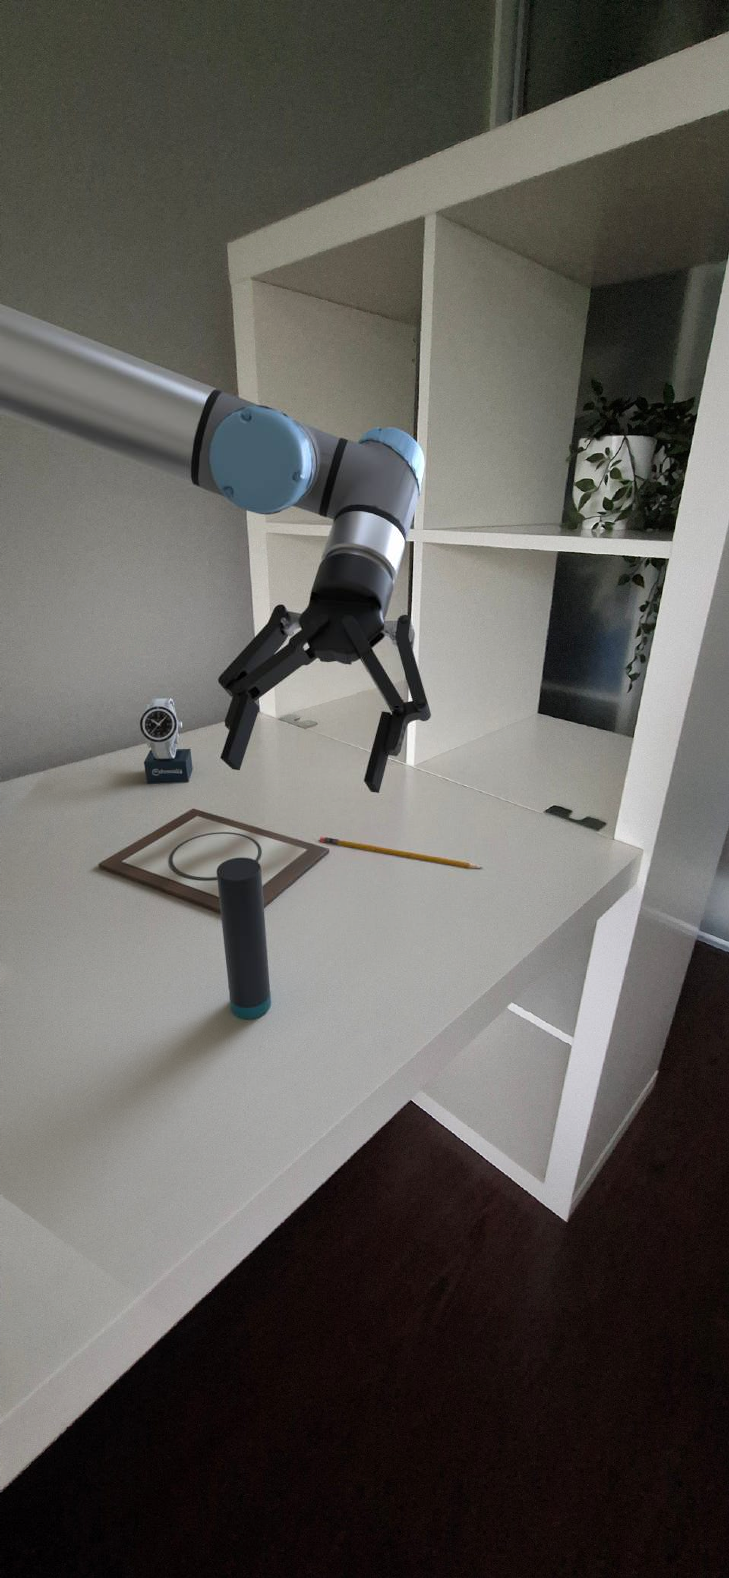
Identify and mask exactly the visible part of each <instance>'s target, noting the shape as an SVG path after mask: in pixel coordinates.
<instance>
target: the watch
mask: <svg viewBox="0 0 729 1578" xmlns="http://www.w3.org/2000/svg"><path fill="white" fill-rule="evenodd" d="M175 707H176V706H175V703H174V700H173V698H171V697H169V698H167V697H166V698H163V697H162V698H152V700H151V701H150V702H149V703H147V705H146V707H145V710H144V711H143V713H141V714H142V715H140V719H139V730H140V733H141V735H142V736H143V737H144V740H145V742H146V745H147V748H150V749H149V752H148V753H147V755H146V757H145V759H144V761H143V767H144V772H145V779H146V780H145V781H146V784H168V783H169V784H170V783H171V784H172V783H189V782H190V778H191V775H192V772H193V769H194V767H193V760H192V752H191V751H192V750H191V748H177V747H178V746H177V745H179V738H180V734H179V729H181V728H183V722H182V721H179V720H178V719H179V718H178V716H177V714H176V708H175Z"/></svg>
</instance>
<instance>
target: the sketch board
mask: <svg viewBox="0 0 729 1578" xmlns="http://www.w3.org/2000/svg"><path fill="white" fill-rule="evenodd" d="M328 854H330V848H328V847H323V846H320V845H318V844H314V843H311V842H308V841H305V840H301V839H298V838H294V837H291V836H287V835H284V834H280V833H278V832H275V831H271V830H267V829H264V828H261V827H257V826H254V825H250V824H247V823H243V822H240V821H238V820H234V819H230V818H228V817H223V816H220V815H217V814H213V813H210V812H206V811H203V810H200V809H197V808H191V809H189V810H188V811H186V812H184V813H183V814H181V815H179V816H178V817H176V818H174V819H172V820H171V821H169V822H168V823H166V824H164V825H162V826H160V827H159V828H156V829H155V830H154V831H151V832H150V833H148V834H147V835H145V836H143V837H142V838H140V839H138V840H136V841H134V842H133V843H131V844H129V845H128V846H127V847H124V848H123V849H121V850H119V851H117V852H116V853H114V854H113V855H111V856H108V857H107V858H106V859H104V860H102V861H100V862H99V863H98V864H97V865H98V866H97V867H98V868H99V869H101V870H104V871H107V872H110V873H112V874H115V875H117V876H121V877H123V878H126V879H127V880H131V881H134V882H136V883H138V884H142V885H144V886H147V887H150V888H152V889H153V890H157V891H160V892H163V893H165V894H168V895H170V896H173V897H176V898H177V899H181V900H183V901H187V902H189V903H191V904H194V905H197V906H200V907H203V908H205V909H208V910H210V911H212V912H215V913H218V914H221V910H220V900H219V891H218V881H217V868H218V866H219V865H220V864H221V863H223V862H225V861H227V860H229V859H233V858H251V859H254V860H256V861H257V862H258V863H259V864H260V866H261V874H262V888H263V902H264V909H265V908H266V907H268V905H269V904H270V903H272V902H274V900H275V899H276V898H278V897H279V896H280V895H282V894H283V892H285V891H286V890H287V889H289V887H291V886H292V885H293V884H294V883H296V882H297V880H299V879H300V878H301V877H302V876H303V875H304V874H306V873H307V872H308V871H310V870H311V869H312V868H313V867H314V866H315V865H316V864H317V863H318V862H320V861H321V860H322V859H324V858H325V857H326V856H327V855H328Z"/></svg>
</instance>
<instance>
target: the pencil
mask: <svg viewBox="0 0 729 1578" xmlns="http://www.w3.org/2000/svg"><path fill="white" fill-rule="evenodd" d="M319 842H320V843H326V844H331V845H336V846H344V847H349V848H354V849H360V850H365V851H372V852H377V853H382V854H387V855H393V856H400V857H404V858H410V859H416V860H421V861H426V862H432V863H433V862H434V863H438V864H444V865H450V866H456V867H461V868H466V869H483V867H482V866H478V865H477V864H474V863H471V862H467V861H462V860H461V861H460V860H456V859H455V860H454V859H449V858H444V857H438V856H433V855H426V854H422V853H415V852H409V851H404V850H398V849H394V848H393V849H392V848H387V847H382V846H375V845H370V844H365V843H358V842H353V841H347V840H343V839H340V838H339V839H338V838H332V837H327V836H320V837H319Z"/></svg>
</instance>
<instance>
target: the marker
mask: <svg viewBox="0 0 729 1578" xmlns="http://www.w3.org/2000/svg"><path fill="white" fill-rule="evenodd" d="M217 881H218V891H219V900H220V910H221V913H220V918H221V927H222V936H223V937H222V938H223V947H224V953H225V954H224V955H225V964H226V965H225V966H226V975H227V985H228V993H229V1004H230V1005H229V1006H230V1011H231V1012H232V1014H233V1015H234V1016H235V1017H237V1018H239V1019H242V1020H254V1019H257V1018H261V1017H262V1016H263V1015H265V1014H266V1013H267V1012H268V1011H269V1010H270V1008H271V1005H272V998H271V997H272V995H271V987H270V971H269V959H268V958H269V957H268V946H267V945H268V943H267V931H266V919H265V918H266V917H265V908H264V902H263V888H262V874H261V866H260V864H259V863H258V862H257V861H256V860H254V859H251V858H233V859H229V860H227V861H225V862H223V863H221V864H220V865H219V866H218V868H217Z"/></svg>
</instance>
